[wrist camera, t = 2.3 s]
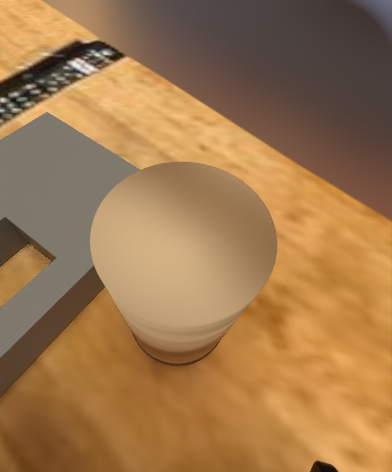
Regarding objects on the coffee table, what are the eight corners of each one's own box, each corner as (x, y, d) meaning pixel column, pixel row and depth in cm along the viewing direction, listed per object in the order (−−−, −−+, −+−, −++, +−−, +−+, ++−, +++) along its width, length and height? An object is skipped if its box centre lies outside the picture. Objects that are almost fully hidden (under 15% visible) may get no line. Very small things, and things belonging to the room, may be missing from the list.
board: (-33, 431, 15) (-83, 440, 12) (-156, 293, 18) (-221, 272, 15) (171, 216, 23) (170, 189, 20) (61, 144, 26) (47, 111, 23)
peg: (186, 390, 17) (211, 376, 6) (118, 334, 18) (44, 244, 8) (233, 317, 20) (309, 217, 9) (170, 272, 21) (169, 137, 10)
